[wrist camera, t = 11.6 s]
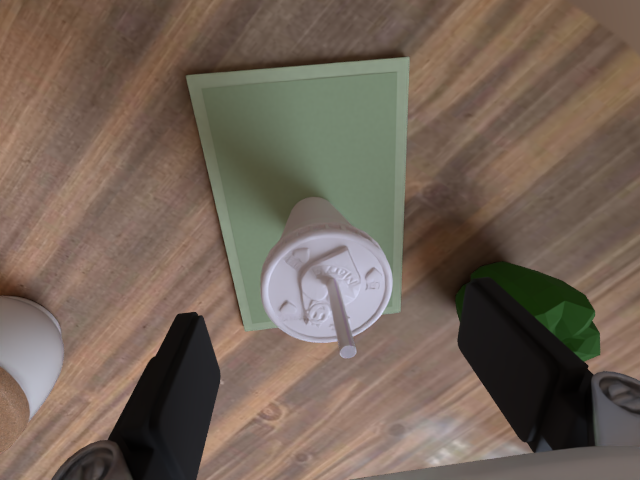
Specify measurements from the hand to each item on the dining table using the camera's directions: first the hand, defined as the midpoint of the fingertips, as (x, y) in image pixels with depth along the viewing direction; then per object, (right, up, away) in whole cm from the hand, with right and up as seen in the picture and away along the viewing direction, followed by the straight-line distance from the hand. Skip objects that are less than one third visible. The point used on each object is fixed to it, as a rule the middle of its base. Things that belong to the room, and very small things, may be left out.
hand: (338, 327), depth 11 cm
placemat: (-1, +5, +13) cm, 14 cm away
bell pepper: (+14, -1, +17) cm, 22 cm away
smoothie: (-1, +5, +12) cm, 13 cm away
